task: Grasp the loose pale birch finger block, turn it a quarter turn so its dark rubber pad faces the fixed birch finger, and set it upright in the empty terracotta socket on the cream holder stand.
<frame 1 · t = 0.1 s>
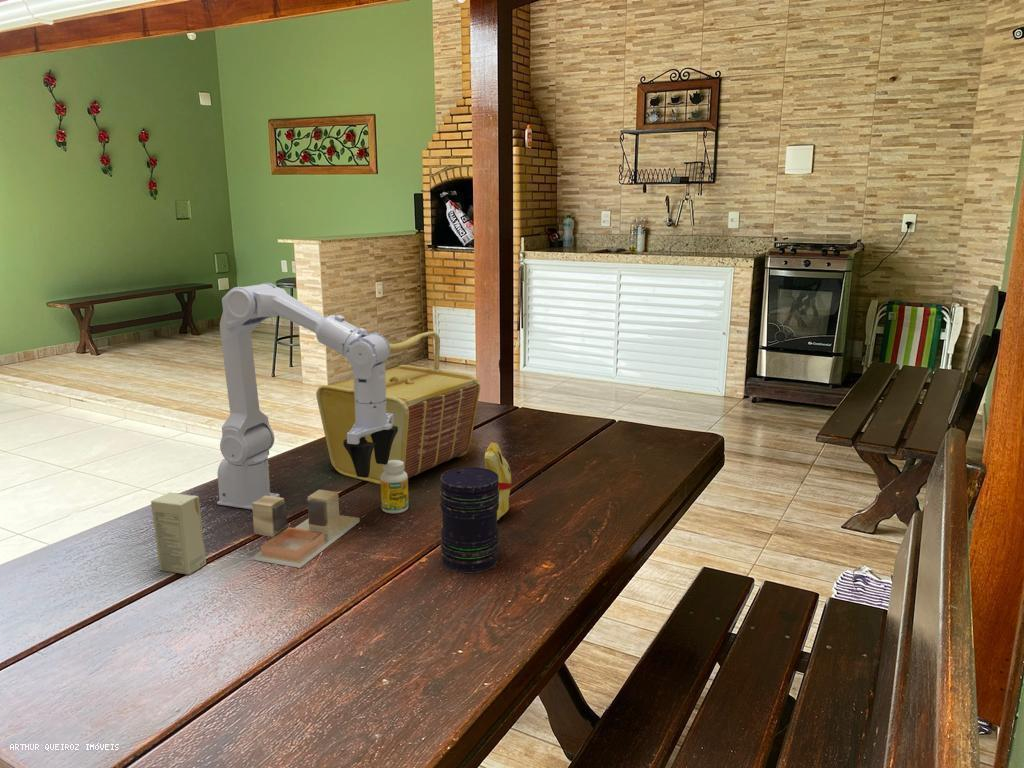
hand: (372, 470, 143), 10 cm above the table, fingers open, 7 cm apart
skincare box: (182, 568, 126), on the table
storage jar: (469, 560, 129), on the table
picnic basket: (402, 466, 176), on the table
supplement bottle: (395, 509, 151), on the table
cream holder stand: (309, 539, 136), on the table
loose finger: (270, 531, 140), on the table
chocolate bunny: (490, 516, 148), on the table
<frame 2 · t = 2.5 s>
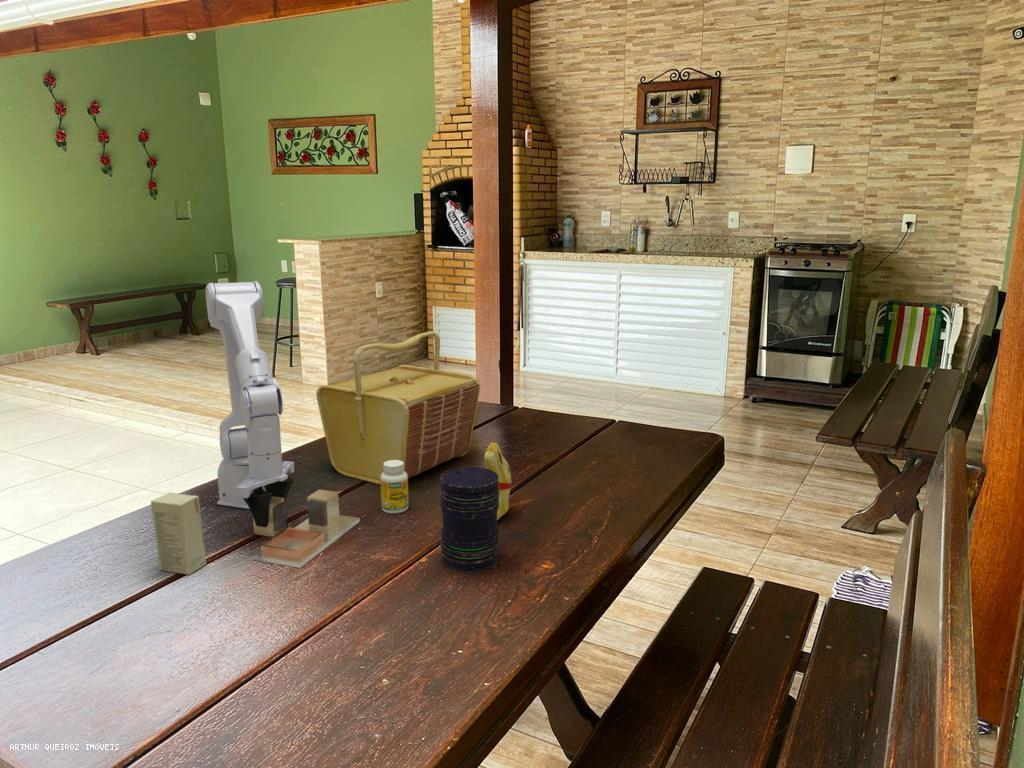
hand: (269, 521, 139), 2 cm above the table, fingers closed on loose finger, 4 cm apart
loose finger: (270, 530, 140), on the table, touching gripper
everything else where it was.
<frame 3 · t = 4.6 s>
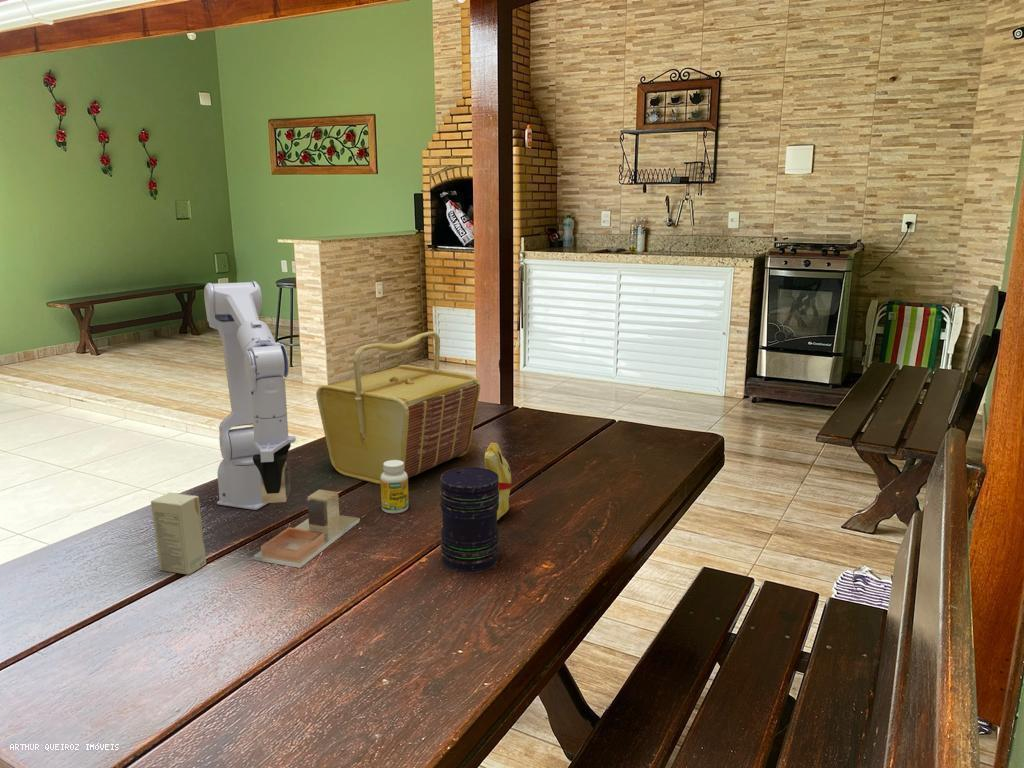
hand: (274, 488, 135), 9 cm above the table, fingers closed on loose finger, 4 cm apart
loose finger: (275, 498, 135), point 8 cm above the table, touching gripper
everything else where it was.
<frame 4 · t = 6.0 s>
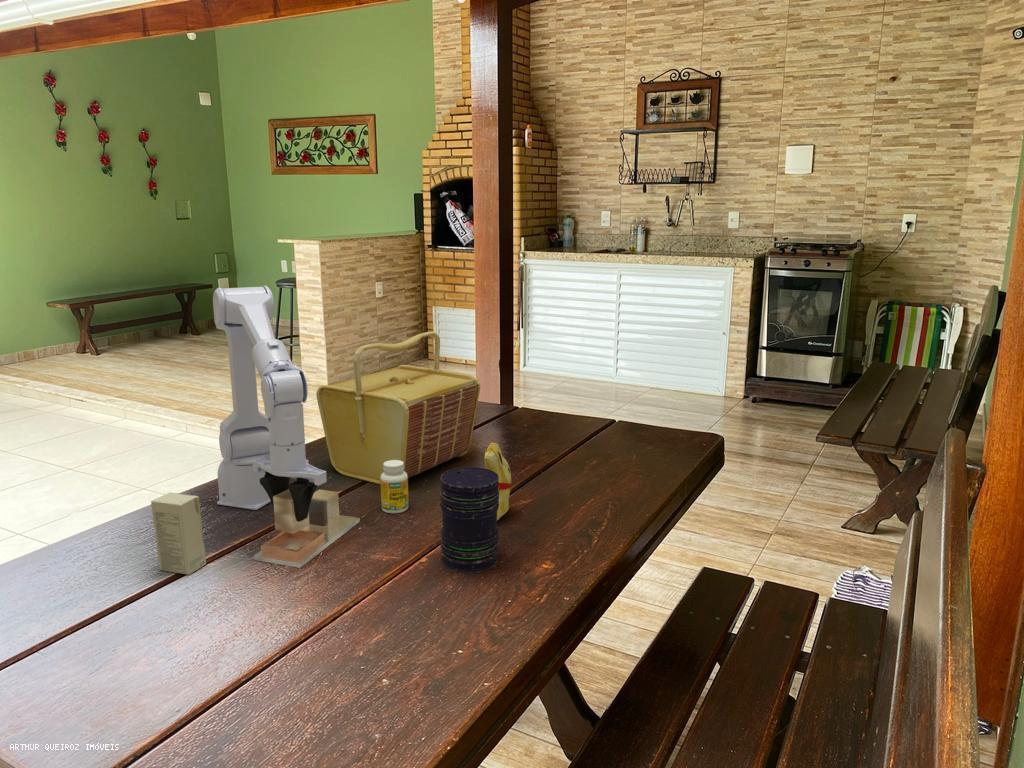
hand: (291, 516, 130), 6 cm above the table, fingers closed on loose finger, 4 cm apart
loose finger: (292, 527, 131), point 5 cm above the table, touching gripper
everything else where it was.
when the fingers open (3 cm above the table, at t = 7.1 s): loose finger stays where it is, resting on cream holder stand.
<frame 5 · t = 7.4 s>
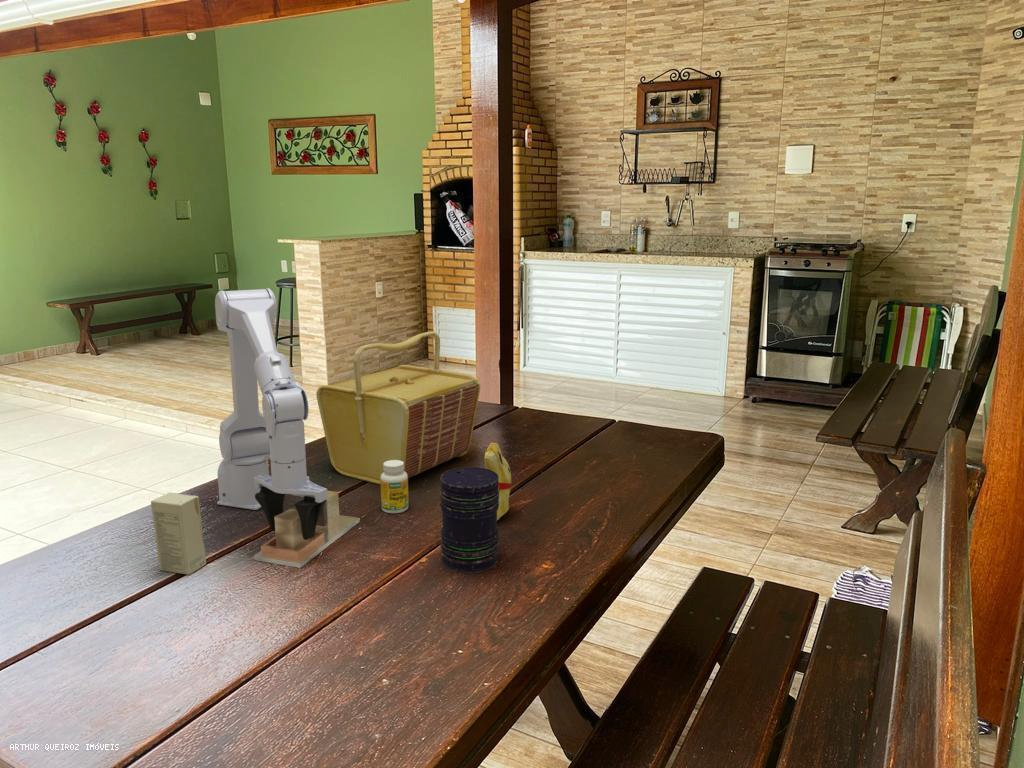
hand: (292, 533, 131), 3 cm above the table, fingers open, 7 cm apart
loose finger: (293, 547, 131), point 1 cm above the table, touching cream holder stand
everything else where it was.
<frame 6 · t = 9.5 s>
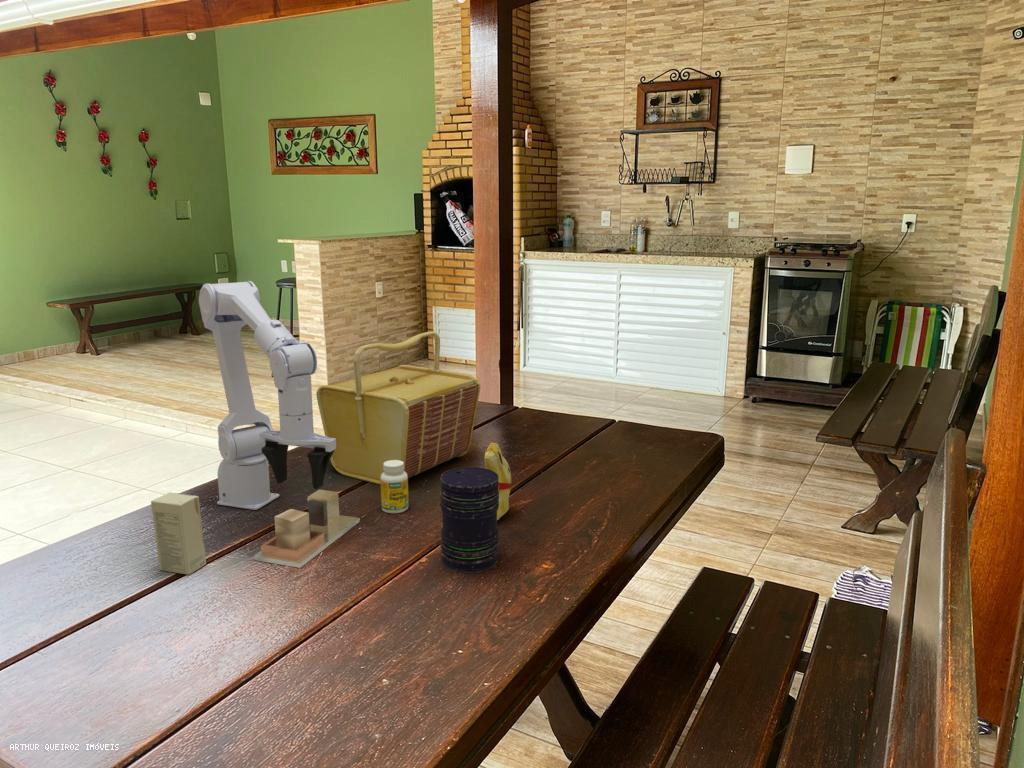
hand: (299, 484, 137), 9 cm above the table, fingers open, 7 cm apart
nothing on the table moved.
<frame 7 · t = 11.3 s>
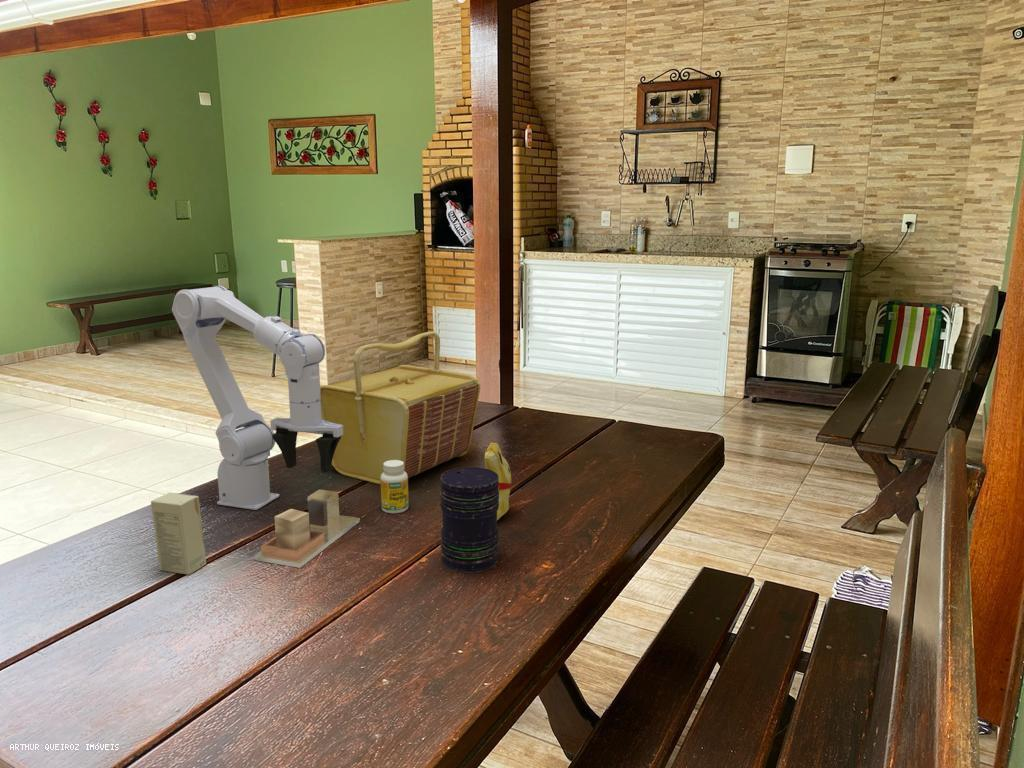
hand: (308, 468, 145), 9 cm above the table, fingers open, 7 cm apart
nothing on the table moved.
at the end: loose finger 0.0 cm from the target spot on the cream holder stand, point 0.8 cm above the cream holder stand's base; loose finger tilted 0°; the gripper is holding nothing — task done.
